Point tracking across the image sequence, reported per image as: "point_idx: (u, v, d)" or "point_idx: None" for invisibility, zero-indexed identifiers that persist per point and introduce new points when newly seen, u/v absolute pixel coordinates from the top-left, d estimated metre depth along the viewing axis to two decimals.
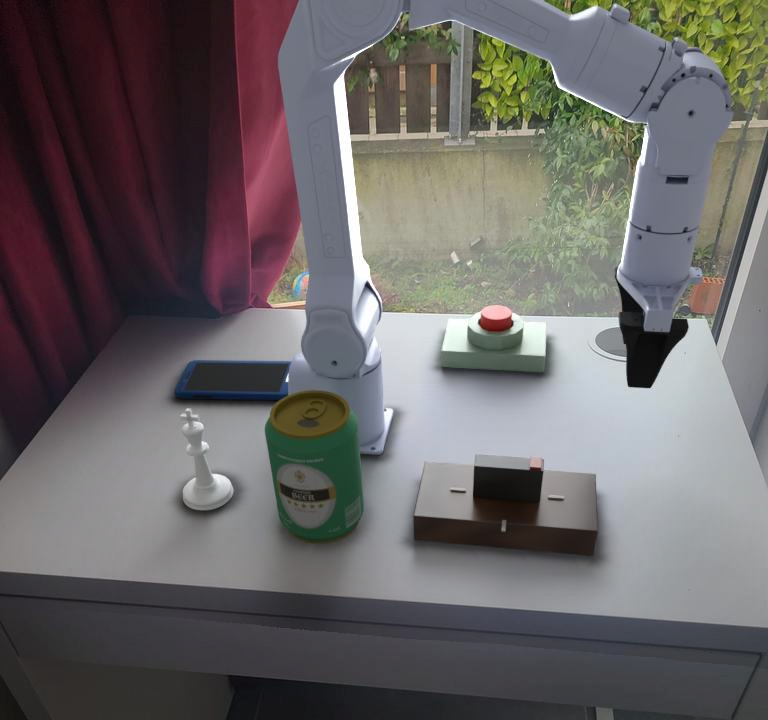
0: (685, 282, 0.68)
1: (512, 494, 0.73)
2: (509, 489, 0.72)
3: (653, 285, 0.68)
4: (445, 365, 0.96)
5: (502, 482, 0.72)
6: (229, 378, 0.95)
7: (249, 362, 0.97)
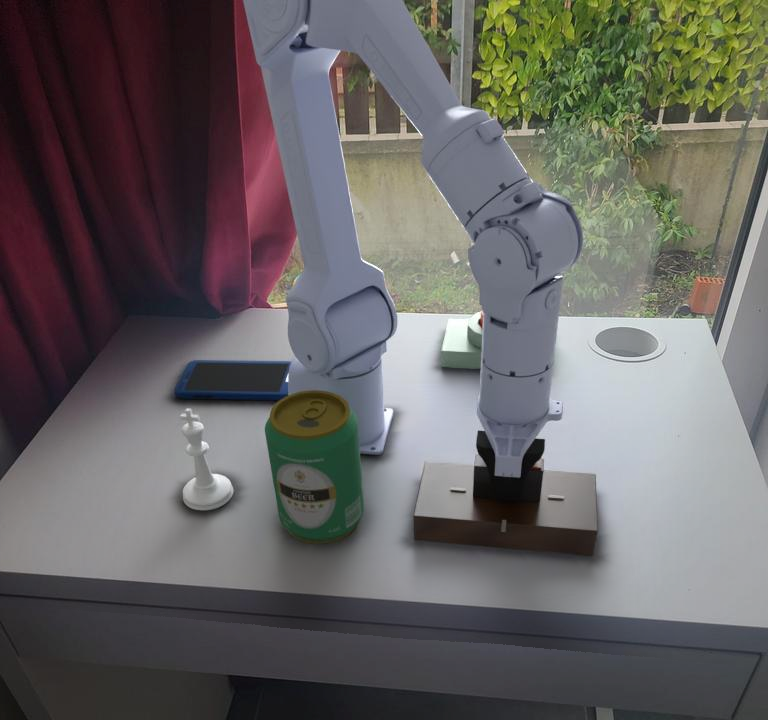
0: (542, 420, 0.66)
1: None
2: None
3: (509, 424, 0.65)
4: (445, 365, 0.96)
5: None
6: (229, 378, 0.95)
7: (249, 362, 0.97)
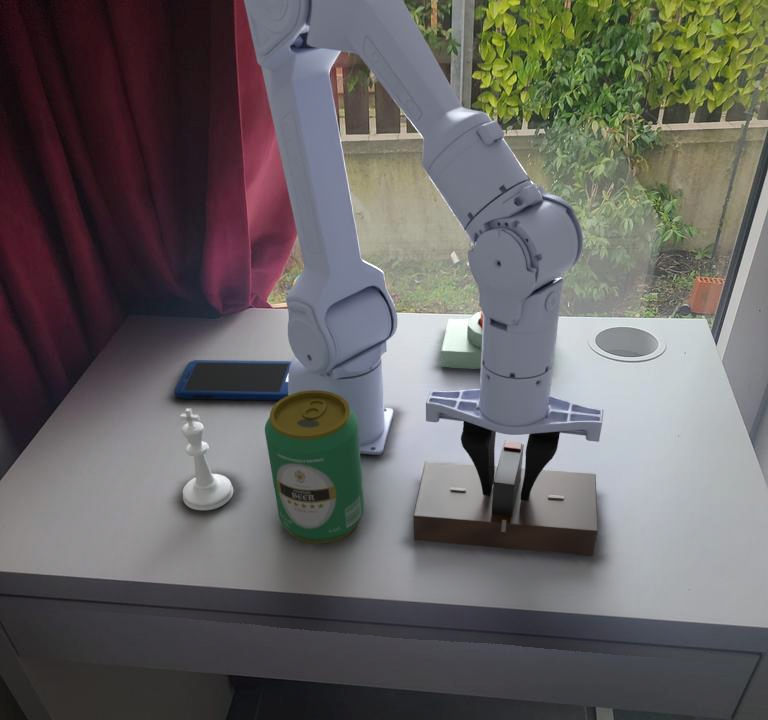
0: None
1: (517, 485, 0.73)
2: (517, 482, 0.73)
3: (547, 411, 0.67)
4: (445, 365, 0.96)
5: (517, 481, 0.72)
6: (229, 378, 0.95)
7: (249, 362, 0.97)
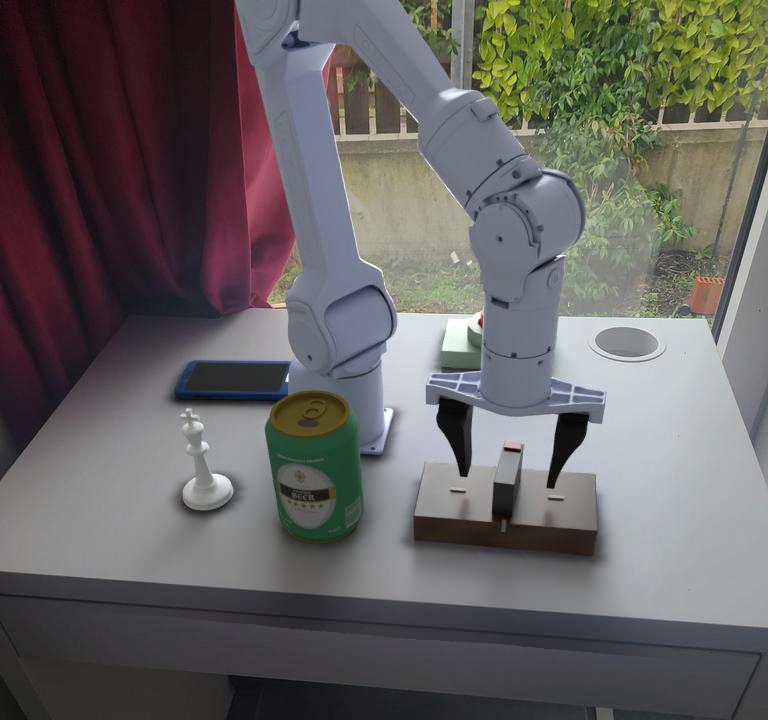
0: None
1: (517, 485, 0.73)
2: (517, 482, 0.73)
3: (549, 393, 0.66)
4: (445, 365, 0.96)
5: (517, 481, 0.72)
6: (229, 378, 0.95)
7: (249, 362, 0.97)
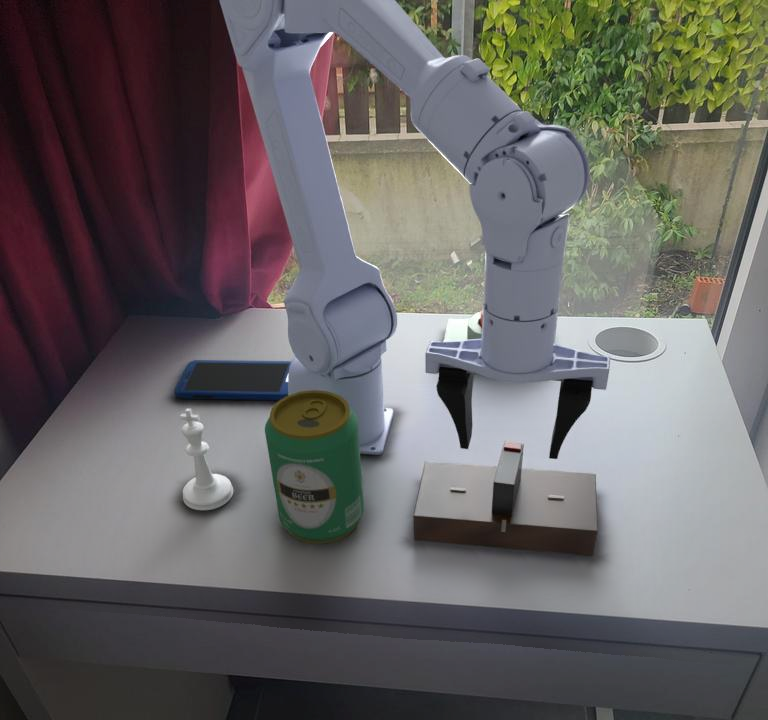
0: None
1: (517, 485, 0.73)
2: (517, 482, 0.73)
3: (552, 359, 0.64)
4: None
5: (517, 481, 0.72)
6: (229, 378, 0.95)
7: (249, 362, 0.97)
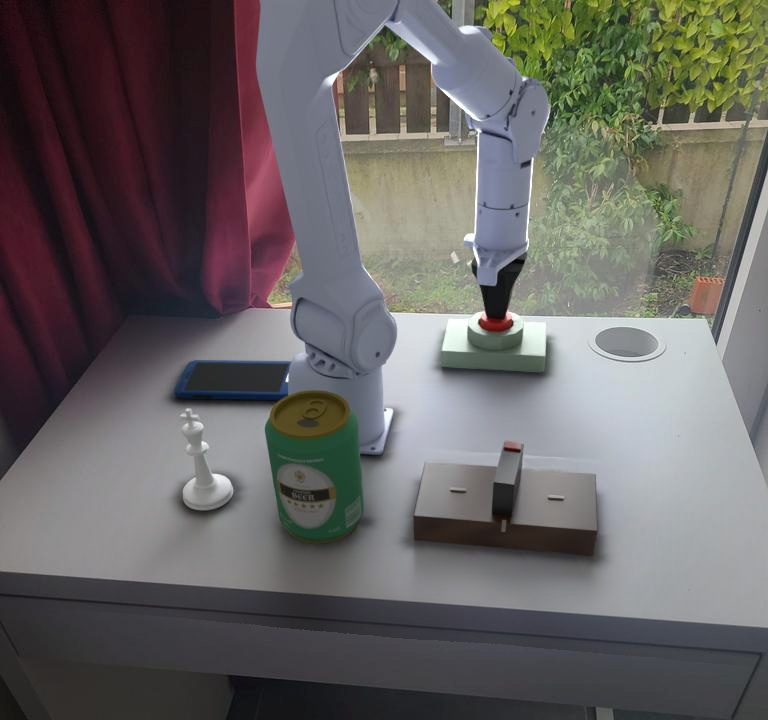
0: None
1: (517, 485, 0.73)
2: (517, 482, 0.73)
3: None
4: (445, 365, 0.96)
5: (517, 481, 0.72)
6: (229, 378, 0.95)
7: (249, 362, 0.97)
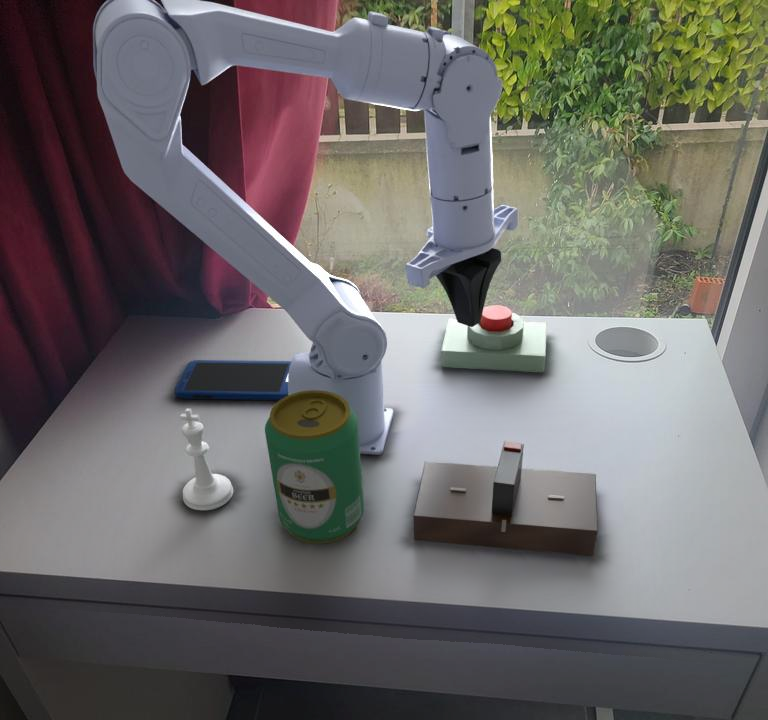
0: None
1: (517, 485, 0.73)
2: (517, 482, 0.73)
3: None
4: (445, 365, 0.96)
5: (517, 481, 0.72)
6: (229, 378, 0.95)
7: (249, 362, 0.97)
